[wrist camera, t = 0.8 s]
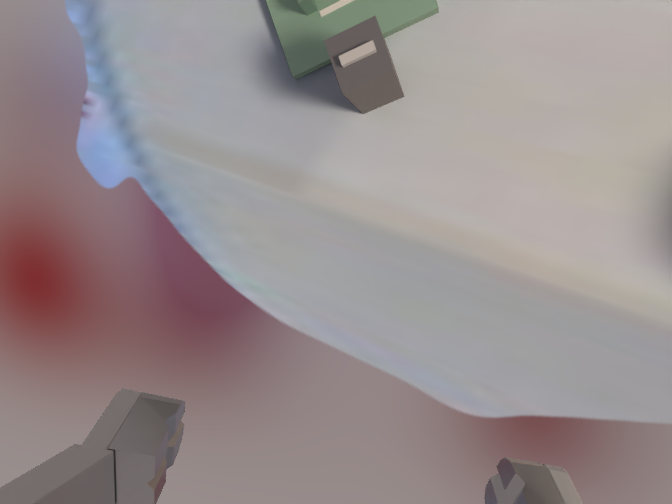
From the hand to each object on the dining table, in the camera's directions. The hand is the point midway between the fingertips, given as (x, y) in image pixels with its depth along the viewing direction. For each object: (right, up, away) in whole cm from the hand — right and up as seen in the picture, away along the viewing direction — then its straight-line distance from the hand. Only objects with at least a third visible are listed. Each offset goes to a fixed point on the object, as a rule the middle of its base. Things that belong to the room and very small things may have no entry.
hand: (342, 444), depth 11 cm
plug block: (+4, +23, +34) cm, 41 cm away
